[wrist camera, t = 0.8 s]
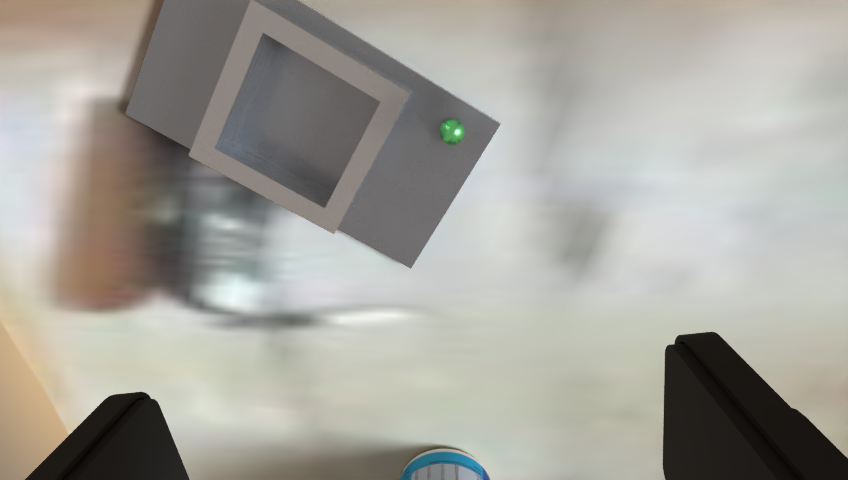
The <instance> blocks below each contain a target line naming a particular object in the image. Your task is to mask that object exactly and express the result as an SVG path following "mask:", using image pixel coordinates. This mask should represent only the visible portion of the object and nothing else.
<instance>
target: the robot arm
mask: <svg viewBox="0 0 848 480" xmlns="http://www.w3.org/2000/svg"><path fill="white" fill-rule="evenodd" d="M663 470H664V475H665V479H666V480H848V458H847V457H845V456H844V455H843V454H842V453H841V452H840V451H839V450H838V449H837V448H836V447H835V446H834V445H833V444H832V443H831V442H830V441H829V440H828V439H827V438H826V437H825V436H824V435H823V434H822V433H821V432H820V431H819V430H818V429H817V428H816V427H815V426H814V425H813V424H812V423H811V422H810V421H809V420H808V419H807V418H806V417H805V416H804V415H803V414H801V413H800V412H799V411H798V410H796V409H793V408H791V407H790V406H789V405H788V404H787V403H786V402H785V401H784V400H783V399H782V398H781V397H780V396H779V395H778V394H777V393H776V392H775V391H774V390H773V389H772V388H771V387H770V386H769V385H768V384H767V383H766V382H765V381H764V380H763V379H762V378H761V377H760V376H759V375H758V374H757V373H756V372H755V371H754V370H753V369H752V368H751V367H750V366H749V365H748V364H747V363H746V362H745V361H744V360H743V359H742V358H741V357H740V356H739V355H738V354H737V353H736V352H735V351H734V350H733V349H732V348H731V347H730V346H729V345H728V344H727V343H726V342H725V341H724V340H723V339H722V338H721V337H720V336H719V335H718V334H717V333H715V332H705V333H696V334H686V335H679V336H678V337H677V338H676V340H675V344H674V345H668V346H667V347H666V350H665V385H664V435H663ZM25 480H189V477H188V475H187V472H186V470H185V467H184V465H183V462H182V460H181V458H180V455H179V453H178V450H177V448H176V445H175V443H174V440H173V438H172V435H171V433H170V431H169V428H168V426H167V423H166V421H165V418H164V416H163V413H162V411H161V408H160V406H159V404H158V402H157V401H156V400H154V399H151V398H150V396H149V395H148V394H146V393H144V392H135V393H126V394H116V395H112V396H109V397H108V398H106V399H105V400H104V401H103V402H102V403H101V404H100V405H99V406H98V407H97V408H96V409H95V410H94V411H93V412H92V413H91V414H90V415H89V416H88V417H87V418H86V419H85V420H84V421H83V422H82V423H81V424H80V425H79V426H78V427H77V428H76V429H75V430H74V431H73V432H72V433H71V434H70V435H69V436H68V437H67V438H66V439H65V440H64V441H63V442H62V443H61V444H60V445H59V446H58V447H57V448H56V449H55V450H54V451H53V452H52V453H51V454H50V455H49V456H48V457H47V458H46V459H45V460H44V461H43V462H42V463H41V464H40V465H39V466H38V467H37V468H36V469H35V470H34V471H33V472H32V473H31V474H30V475H29V476H28V477H27V478H26V479H25Z"/></svg>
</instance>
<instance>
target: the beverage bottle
mask: <svg viewBox="0 0 848 480" xmlns="http://www.w3.org/2000/svg"><path fill="white" fill-rule="evenodd" d="M400 480H490V477H489V475H488V473H487V471H486V469H485V468H484V466H483V465H482V464H481V463H480V462H479V461H478V460H477V459H475V458H474V457H473V456H471V455H469V454H467V453H465V452H462V451H459V450H454V449H434V450H430V451H426V452H424V453H421V454H419V455H418V456H416V457H415V458H413V459H412V460H411V461H410V462H409V463H408V464H407V465H406V467H405V468H404V470H403V472H402V474H401V477H400Z"/></svg>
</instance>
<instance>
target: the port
mask: <svg viewBox="0 0 848 480" xmlns="http://www.w3.org/2000/svg"><path fill="white" fill-rule="evenodd" d="M125 114H126V115H128V116H130V117H132V118H133V119H135V120H137V121H139V122H141V123H143V124H145V125H146V126H148V127H150V128H152V129H154V130H156V131H158V132H159V133H161V134H163V135H165V136H167V137H169V138H170V139H172V140H174V141H176V142H178V143H180V144H182V145H183V146H185V147H187V148H189V149H191V151H190V153H189V156H190V157H192V158H193V159H195V160H197V161H199V162H201V163H203V164H205V165H206V166H208V167H210V168H212V169H214V170H216V171H218V172H219V173H221V174H223V175H225V176H227V177H229V178H231V179H232V180H234V181H236V182H238V183H240V184H242V185H244V186H245V187H247V188H249V189H251V190H253V191H255V192H257V193H258V194H260V195H262V196H264V197H266V198H268V199H270V200H271V201H273V202H275V203H277V204H279V205H281V206H283V207H284V208H286V209H288V210H290V211H292V212H294V213H296V214H297V215H299V216H301V217H303V218H305V219H307V220H309V221H310V222H312V223H314V224H316V225H318V226H320V227H322V228H323V229H325V230H327V231H329V232H331V233H333V234H334V233H335V231H336V230H337V229H339V230H341V231H343V232H344V233H346V234H348V235H350V236H352V237H354V238H355V239H357V240H359V241H361V242H363V243H365V244H367V245H368V246H370V247H372V248H374V249H376V250H378V251H380V252H381V253H383V254H385V255H387V256H389V257H391V258H392V259H394V260H396V261H398V262H400V263H402V264H404V265H405V266H407V267H409V268H412V266H413V264H414V263H415V261H416V260H417V258H418V256H419V255H420V253H421V251H422V250H423V248H424V247H425V245H426V243H427V242H428V240H429V239H430V237H431V235H432V234H433V232H434V230H435V229H436V227H437V226H438V224H439V222H440V221H441V219H442V218H443V216H444V214H445V213H446V211H447V209H448V208H449V206H450V205H451V203H452V201H453V200H454V198H455V197H456V195H457V193H458V192H459V190H460V189H461V187H462V185H463V184H464V182H465V180H466V179H467V177H468V176H469V174H470V172H471V171H472V169H473V168H474V166H475V164H476V163H477V161H478V159H479V158H480V156H481V155H482V153H483V151H484V150H485V148H486V147H487V145H488V143H489V142H490V140H491V139H492V137H493V135H494V134H495V132H496V130H497V129H498V127H499V126H500V123H499V122H498V121H496V120H494V119H493V118H491V117H489V116H488V115H486V114H484V113H483V112H481V111H479V110H478V109H476V108H475V107H473V106H471V105H470V104H468V103H466V102H465V101H463V100H461V99H460V98H458V97H456V96H455V95H453V94H451V93H450V92H448V91H446V90H445V89H443V88H442V87H440V86H438V85H437V84H435V83H433V82H432V81H430V80H428V79H427V78H425V77H423V76H422V75H420V74H418V73H417V72H415V71H414V70H412V69H410V68H409V67H407V66H405V65H404V64H402V63H400V62H399V61H397V60H395V59H394V58H392V57H390V56H389V55H387V54H385V53H384V52H382V51H381V50H379V49H377V48H376V47H374V46H372V45H371V44H369V43H367V42H366V41H364V40H362V39H361V38H359V37H357V36H356V35H354V34H352V33H351V32H349V31H348V30H346V29H344V28H343V27H341V26H339V25H338V24H336V23H334V22H333V21H331V20H329V19H328V18H326V17H324V16H323V15H321V14H320V13H318V12H316V11H315V10H313V9H311V8H310V7H308V6H306V5H305V4H303V3H301V2H300V1H298V0H164V2H163V5H162V8H161V11H160V13H159V16H158V19H157V22H156V25H155V28H154V31H153V34H152V37H151V40H150V43H149V46H148V49H147V52H146V55H145V57H144V60H143V63H142V66H141V69H140V72H139V75H138V78H137V81H136V84H135V87H134V90H133V93H132V96H131V99H130V101H129V104H128V107H127V110H126V113H125Z"/></svg>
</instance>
